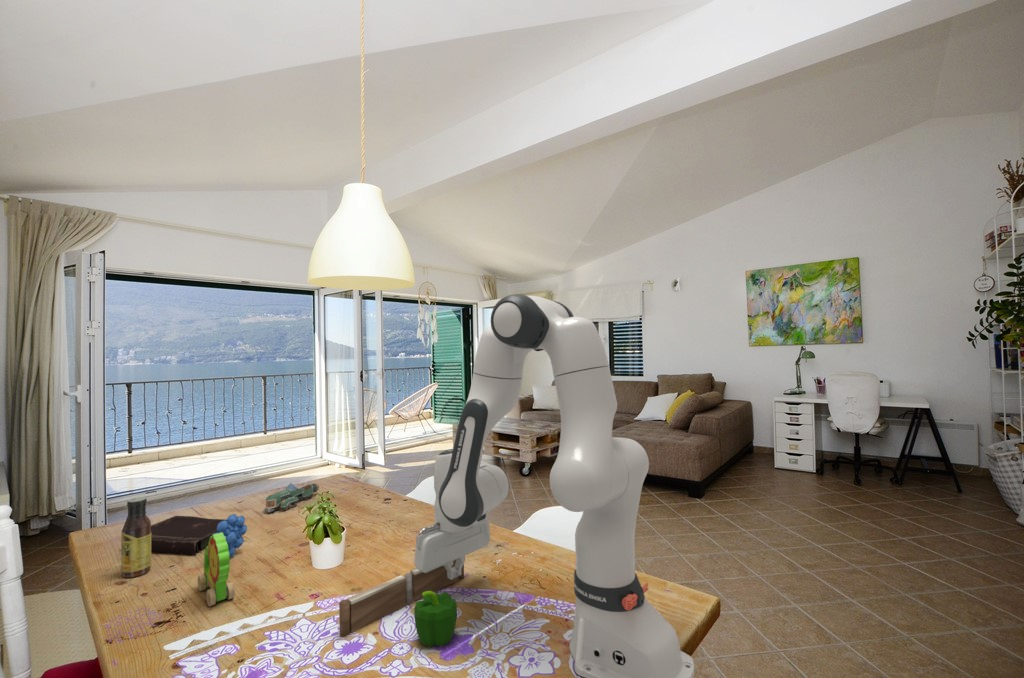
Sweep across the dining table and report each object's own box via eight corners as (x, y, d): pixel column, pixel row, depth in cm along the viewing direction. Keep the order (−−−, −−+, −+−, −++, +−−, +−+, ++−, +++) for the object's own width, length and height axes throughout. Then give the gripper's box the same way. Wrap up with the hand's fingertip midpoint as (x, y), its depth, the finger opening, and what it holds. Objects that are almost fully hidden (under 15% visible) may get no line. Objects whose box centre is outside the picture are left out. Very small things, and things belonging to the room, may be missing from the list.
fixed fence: (414, 604, 105) (413, 574, 105) (342, 639, 93) (342, 605, 93) (409, 600, 107) (408, 571, 107) (338, 635, 94) (337, 602, 94)
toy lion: (196, 588, 116) (195, 526, 116) (221, 580, 119) (220, 520, 120) (211, 613, 104) (210, 544, 105) (238, 603, 108) (237, 537, 108)
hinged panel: (465, 577, 116) (465, 550, 117) (415, 602, 106) (415, 572, 106) (460, 574, 118) (460, 548, 118) (410, 598, 107) (410, 569, 107)
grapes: (235, 548, 139) (235, 507, 140) (252, 550, 137) (252, 509, 137) (198, 565, 128) (197, 521, 129) (216, 568, 126) (215, 524, 126)
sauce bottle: (119, 574, 124) (119, 499, 125) (148, 565, 129) (148, 493, 129) (123, 582, 120) (123, 504, 120) (153, 573, 124) (153, 498, 125)
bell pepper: (459, 627, 97) (458, 578, 97) (456, 652, 88) (454, 599, 89) (418, 628, 96) (417, 580, 97) (411, 655, 88) (410, 601, 88)
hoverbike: (256, 513, 170) (256, 490, 170) (309, 493, 193) (309, 473, 193) (275, 516, 167) (275, 493, 167) (327, 495, 190) (327, 474, 190)
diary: (194, 559, 134) (193, 541, 134) (122, 554, 139) (122, 537, 139) (242, 532, 152) (242, 517, 152) (178, 529, 157) (177, 514, 157)
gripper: (425, 534, 100) (425, 599, 100) (493, 509, 115) (494, 565, 114) (408, 527, 104) (409, 589, 104) (476, 503, 119) (477, 558, 119)
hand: (454, 576), depth 109 cm, fingers closed
